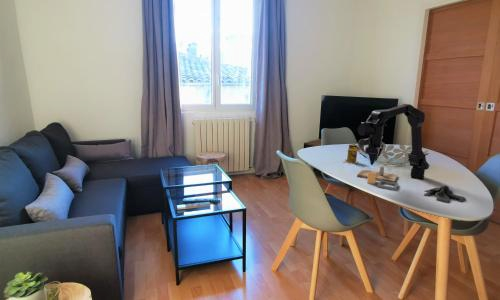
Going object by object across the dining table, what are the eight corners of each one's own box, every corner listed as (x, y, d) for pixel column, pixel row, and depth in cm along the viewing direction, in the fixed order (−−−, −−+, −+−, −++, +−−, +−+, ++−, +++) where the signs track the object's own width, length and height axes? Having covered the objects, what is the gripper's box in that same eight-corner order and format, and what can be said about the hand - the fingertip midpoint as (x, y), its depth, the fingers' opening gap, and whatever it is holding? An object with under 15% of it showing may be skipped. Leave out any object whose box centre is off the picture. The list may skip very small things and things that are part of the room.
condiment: (355, 164, 205) (357, 146, 202) (342, 162, 209) (344, 145, 206) (357, 161, 211) (359, 144, 208) (345, 159, 215) (346, 143, 212)
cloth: (443, 188, 162) (445, 177, 161) (475, 202, 145) (478, 190, 143) (407, 191, 158) (409, 180, 156) (436, 206, 140) (438, 193, 139)
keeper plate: (397, 176, 179) (398, 165, 177) (394, 183, 168) (395, 171, 167) (362, 171, 189) (363, 160, 188) (356, 176, 179) (358, 165, 177)
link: (398, 185, 165) (399, 174, 163) (395, 190, 157) (397, 179, 156) (369, 180, 172) (370, 170, 171) (365, 184, 165) (366, 174, 164)
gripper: (364, 130, 173) (362, 157, 177) (356, 135, 158) (353, 164, 162) (385, 132, 167) (382, 159, 171) (379, 138, 152) (376, 168, 156)
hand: (373, 162), depth 165 cm, fingers open, 9 cm apart
